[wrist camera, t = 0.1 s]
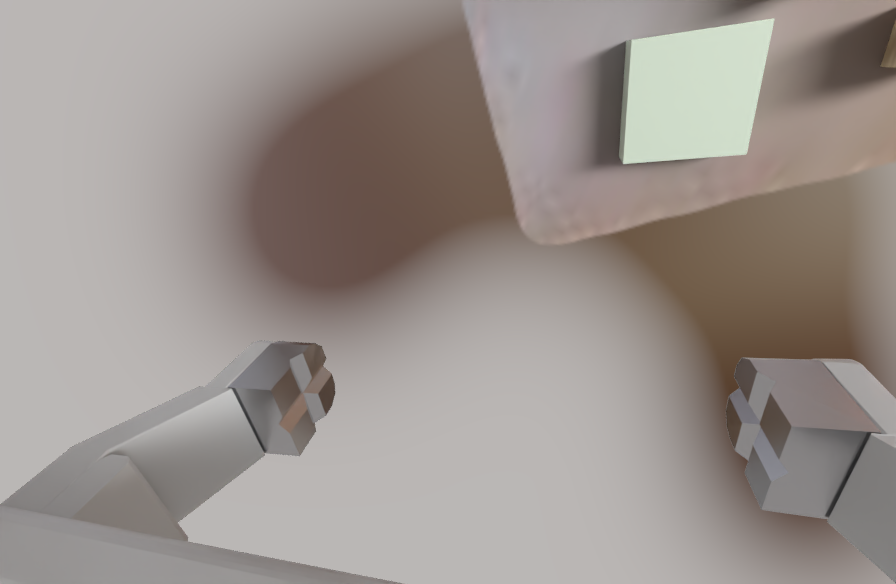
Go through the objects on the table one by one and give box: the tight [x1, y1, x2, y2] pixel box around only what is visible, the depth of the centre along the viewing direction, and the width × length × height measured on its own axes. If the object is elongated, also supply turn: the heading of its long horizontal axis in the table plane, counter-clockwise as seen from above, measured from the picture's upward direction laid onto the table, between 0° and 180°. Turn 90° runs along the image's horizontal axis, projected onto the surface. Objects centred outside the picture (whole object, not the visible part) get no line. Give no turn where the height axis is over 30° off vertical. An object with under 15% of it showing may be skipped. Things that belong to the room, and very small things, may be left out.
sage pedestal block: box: [619, 18, 775, 164], centre depth 43 cm, size 12×12×4 cm
